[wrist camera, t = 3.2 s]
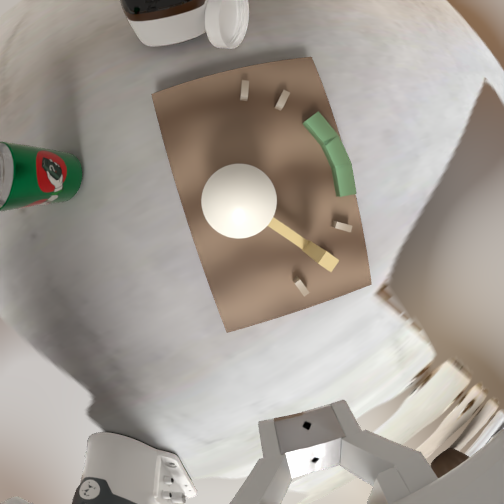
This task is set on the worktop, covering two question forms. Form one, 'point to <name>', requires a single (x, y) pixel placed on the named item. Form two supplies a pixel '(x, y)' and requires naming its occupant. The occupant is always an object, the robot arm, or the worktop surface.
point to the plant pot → (447, 461)
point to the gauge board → (282, 177)
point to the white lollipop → (250, 209)
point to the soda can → (36, 176)
